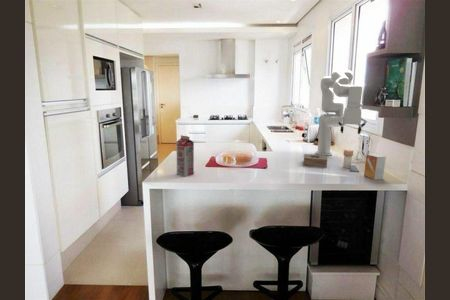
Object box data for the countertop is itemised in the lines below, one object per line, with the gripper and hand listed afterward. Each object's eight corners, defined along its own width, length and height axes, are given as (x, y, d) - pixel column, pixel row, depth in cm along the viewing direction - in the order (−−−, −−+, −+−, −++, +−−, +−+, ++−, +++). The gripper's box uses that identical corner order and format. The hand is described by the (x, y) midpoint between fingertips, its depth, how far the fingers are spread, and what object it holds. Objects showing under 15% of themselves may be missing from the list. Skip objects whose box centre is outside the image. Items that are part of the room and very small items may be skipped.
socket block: (303, 162, 197) (304, 153, 196) (324, 164, 194) (325, 155, 193) (303, 167, 184) (304, 158, 183) (326, 169, 180) (327, 159, 179)
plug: (341, 166, 187) (343, 149, 185) (350, 166, 185) (352, 150, 183) (342, 168, 182) (344, 151, 180) (352, 168, 180) (354, 151, 178)
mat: (335, 164, 193) (335, 163, 193) (355, 166, 190) (355, 165, 190) (338, 170, 178) (338, 169, 178) (359, 172, 175) (359, 171, 174)
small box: (363, 175, 167) (366, 153, 165) (372, 175, 169) (374, 153, 167) (374, 179, 160) (377, 156, 157) (383, 178, 162) (386, 156, 159)
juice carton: (185, 172, 166) (185, 134, 162) (193, 174, 162) (193, 136, 157) (176, 174, 161) (176, 135, 156) (184, 177, 156) (184, 137, 152)
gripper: (367, 106, 177) (364, 133, 181) (337, 105, 182) (335, 131, 186) (370, 106, 170) (366, 135, 174) (339, 105, 175) (336, 133, 179)
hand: (350, 133), depth 180 cm, fingers open, 9 cm apart
